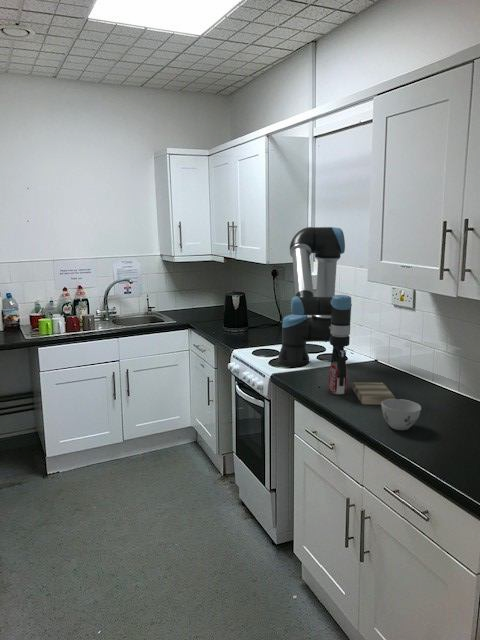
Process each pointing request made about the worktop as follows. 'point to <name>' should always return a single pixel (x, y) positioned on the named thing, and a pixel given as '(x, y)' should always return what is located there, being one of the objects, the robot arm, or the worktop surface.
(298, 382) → the worktop surface
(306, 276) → the robot arm
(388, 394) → the serving board
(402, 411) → the teacup
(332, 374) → the soda can
